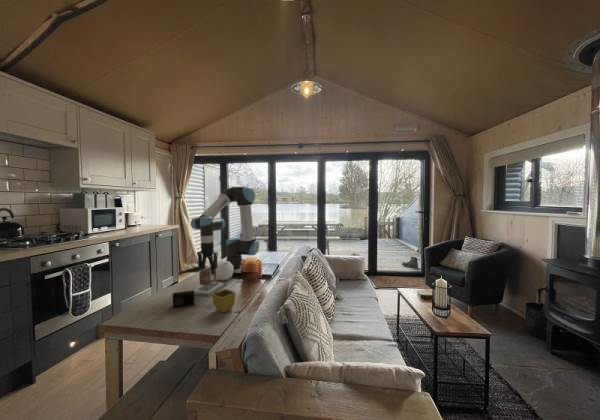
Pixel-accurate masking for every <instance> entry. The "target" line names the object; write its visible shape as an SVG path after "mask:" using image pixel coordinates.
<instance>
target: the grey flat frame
mask: <svg viewBox="0 0 600 420" xmlns="http://www.w3.org/2000/svg"><path fill="white" fill-rule="evenodd" d="M227 286H228V284H227V283H224V282H216V281H213V282H211V283H210V284H208V285H199V286H198V287H196V288H195V289H193V290H192V291H194V296H198V297H199V296H200V297H212V294H213V293H216V292H219V291H221V290H223V289H224V288H225V287H227Z"/></svg>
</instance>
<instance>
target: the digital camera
mask: <svg viewBox="0 0 600 420" xmlns="http://www.w3.org/2000/svg"><path fill="white" fill-rule="evenodd" d="M193 306H195V295H194V291H193V290H187V291H186V290H185V291H177V292H173V294H172V308H173V309H178V308H180V309H181V308H186V307H193Z"/></svg>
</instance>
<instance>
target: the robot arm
mask: <svg viewBox="0 0 600 420" xmlns="http://www.w3.org/2000/svg"><path fill="white" fill-rule="evenodd" d="M255 199H256V192H255V191H254V189H253V187H250V186H232V187H229V188H226V189H225V190H223V191H222V192H221V193H220V194H219V195H218V197H217V199H216V200H214V202H213V203H212V204H211V205H209V206H208V207H207V208H206V209H205V210H204V212H202V214H201V215H200V216H199V217H194V218H192V219H191V221H190V226H191V228H192V229H193V230H198V231H200V251H197V252H196V255H197V265H198V269H200V271H202V270H204V269H206V268H207V267H206V263H207V259H208V262H209V267H211V269H210V280H213V279H214V274H215V269H216V268H217V264H218V254H219V252H218V251H217V252H215V250H214V247H215V246H214V245H215V244H214V242H215V241H214V232H215V231H221V230H223V229H224V228H225V227H226V221H225V219H224V218H221V217H217V218H215V217H216V216H217V215H219V213H220V212H221V211H222V210H223V209H224V208H225V206H228V205H230V203H236V205H237V206H238V207H239V215H240V225H241V235H242V237H233V238H229V239H227V240H226V244H225V245H226V259H225V261H228V262H230V263H231V264H232V265H233V268H234V270H237V269H236V268H238V269H241V268H240V266H241V261H242V260H243V259H244V258H243V256H256V255H257V253H259V250H260V241H259V240H257V238H256V236H255V235H254V227H253V225H254V224H253V214H252V205H253V203H254V202H255ZM243 261H244V260H243Z"/></svg>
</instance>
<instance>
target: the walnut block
mask: <svg viewBox="0 0 600 420" xmlns="http://www.w3.org/2000/svg"><path fill="white" fill-rule="evenodd" d="M205 268H206V269H204V270H202V271H201V270H200V271H198V273H199V274H198V275H199V277H198V278H199V286H202V285H208V284H210V283H211V282H216V280H217V277H216V269H215V274H214V279H213V280H210V269H211V267H210V266H209V267H205Z"/></svg>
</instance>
